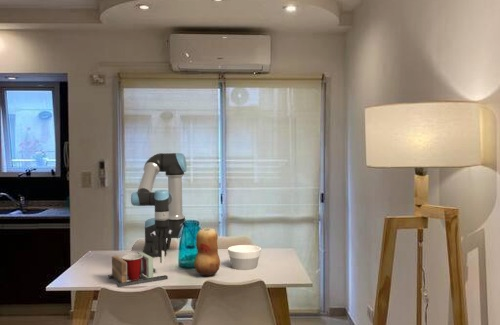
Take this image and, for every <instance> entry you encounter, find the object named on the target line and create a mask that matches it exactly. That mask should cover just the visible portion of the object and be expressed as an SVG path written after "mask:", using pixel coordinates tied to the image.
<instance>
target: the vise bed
mask: <svg viewBox="0 0 500 325" xmlns="http://www.w3.org/2000/svg"><path fill="white" fill-rule="evenodd" d="M153 273H156V269H155V267H153ZM140 275H143V274H142V273H140ZM107 276H108V277H107V278H108V280H112V279H113V280H114V281H116V283H118V284H117V285H118V287H119V288H121V287H129V286H135V285H140V284H145V283H151V282H158V281H165V280H168V278H169V277H168V275H166V274H163V275H159V276H153V277H150V278H148V277H145V278H141V279H140V278H139V279H136V280H128V275H127V263H126V261H124V260H123V259H122V257H119V256H118V255H112V256H111V274H109V275H107ZM127 280H128V281H127Z"/></svg>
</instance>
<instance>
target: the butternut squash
mask: <svg viewBox="0 0 500 325" xmlns="http://www.w3.org/2000/svg"><path fill="white" fill-rule="evenodd" d="M195 238H196V240H195V242H196V244H195V247H196V250H197V251H196V252H197V254H196V256H195V259H194V265H193V266H194V268H195V271H196V272H197V273H199V274H200V275H202V276H204V277H205V276H206V277H210V276H211V275H214V274H217V273H218V271H219V269H220V267H221V260H220V255H219V252H218V251H219V246H218V238H219V237H218V233H217V231H216V229H214V228H212V227H210V228H209V227H205V228H202V229H200V230H198V231H197V233H196V237H195Z"/></svg>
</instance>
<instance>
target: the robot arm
mask: <svg viewBox="0 0 500 325" xmlns="http://www.w3.org/2000/svg"><path fill="white" fill-rule="evenodd" d="M187 169H188V168H187V160H186V156H185V154H184V153H179V152H173V153H171V152H170V153H164V152H163V153H162V152H161V153H160V152H159V153H157V154H154V155H152V156H151V157H149V158H148V160H146V162H145V164H144V166H143V171H144V172H143V174H142V177H141V180H140V182H139V185H138V189H137V191H135V192H132V193H131V195H130V203H131V205H132V206H134V207H135V206H136V207H152V206H153V207H154V217H152V218H149V219H147V220H145V221H144V246H143V247H142V248H143V249H142V251H141V252H143V253H145V254H147V255H149V256H151V257H153V258H157V257H158V258H159V264H165V262H166V261H165V257H166V256H167V251H168V250H169V249H171V248H170V247H171V242H172V239H181V238H180V237H181V233H182V229H183V222H185V221H187V222H188V220H187V219H186V216H185V215H184V214H183V181H182V180H183V176H184V175H185V173H186V172H187ZM159 173H165V176H166V178H167V187H168V190H167V189H158V190H155V191H154V192H152V191H153V187H154V184H155V180H156V178H157V175H158V174H159Z"/></svg>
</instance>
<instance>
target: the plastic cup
mask: <svg viewBox="0 0 500 325" xmlns="http://www.w3.org/2000/svg"><path fill="white" fill-rule="evenodd" d="M142 257H143V255H141V254H138V253H129V254H124V255H123V256H121V259H122V260H124V261H126V263H127V275H128V276H127V279H128V281H133V280H139V279H140V278H141V274H140V273H141V261H142Z"/></svg>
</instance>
